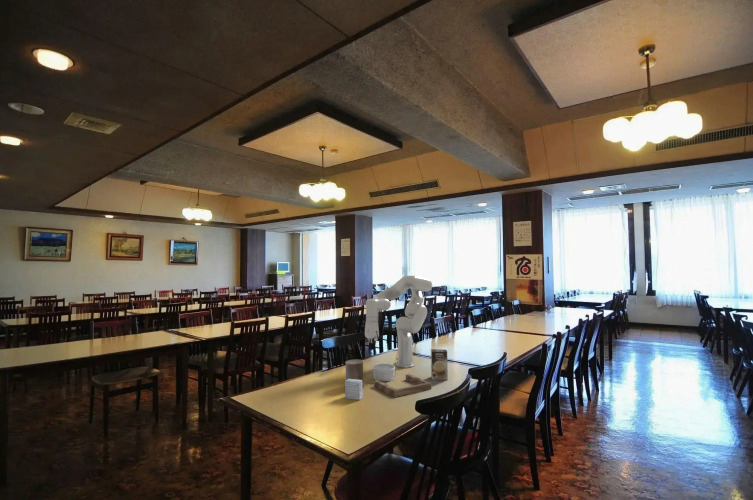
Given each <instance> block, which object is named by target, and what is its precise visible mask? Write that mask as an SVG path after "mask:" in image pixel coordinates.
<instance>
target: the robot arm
mask: <svg viewBox="0 0 753 500" xmlns="http://www.w3.org/2000/svg"><path fill="white" fill-rule="evenodd" d="M432 288H433V283H432V281H431V280H430V279H429V278H425V277H421V276H419V275H404V276H402V277H401V278H400V279H399V280H397V281H396V282H395V283H394V284H393V285H392V286H390V287H388V288H386V289H384V290H381V291H380V292H378V293H376V295H374V297H372V298H367V299H366V301H365V325H364V337H365V338H367V340H368V343H369V345H368V347H369V350H371V351H372V350H373V351H374V350H376V342H377V341H378V339H379V337H380V329H379V311H384V312H385V311H387V310H389V309H390V308H391V301H390V300H394V299H398V298H400V297H402V295H403V294H405V293H406V292H407V291H408V290H409V289H410V291H411V297H410V299H409V301H408V303H407V305H406V307H405V309H404V314H405V316H400V317H399V318H397V319H396V321H395V328H396V334H397V357H396V358H395V360H396V361H397V362H396V363H395V367H398V368H406V369H407V368H412V367H415V366H416V362H413V360H414V359H413V336H412V334H417V333H418V332H419V331H420V330H421V328H422V326H423V324H424V322H425V320H426V318H427V316H428V309H427V306H426V305H424V304H423V303H424V294H423V292H430V291H431V290H432Z"/></svg>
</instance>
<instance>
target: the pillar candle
mask: <svg viewBox="0 0 753 500" xmlns="http://www.w3.org/2000/svg"><path fill="white" fill-rule="evenodd" d="M344 363H345V381H346V380H348V379H357V380H362V383H363V388H364V387H365V386H364V360H363V359H355V358H354V359H349V360H346V361H345V362H344Z"/></svg>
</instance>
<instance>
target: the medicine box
mask: <svg viewBox="0 0 753 500" xmlns="http://www.w3.org/2000/svg"><path fill="white" fill-rule="evenodd" d="M363 385H364V382H363V383H362V380H357V379H348V380H346V379H345V381H344V397H345V398H344V399H345V400H355V401H361V400H362V399H363V397H364V394H363V391H364V389H363V388H364V387H363Z"/></svg>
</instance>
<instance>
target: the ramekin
mask: <svg viewBox="0 0 753 500" xmlns="http://www.w3.org/2000/svg"><path fill="white" fill-rule="evenodd" d="M395 370H396V365H393V364H391V363H390V364H389V363H378V364H375V365H373V366H372V373H373V378H374V381H375V380H378V381H380V382H382V383H384V382H385V383H386V382H390V381H392V380H394V378H395Z"/></svg>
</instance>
